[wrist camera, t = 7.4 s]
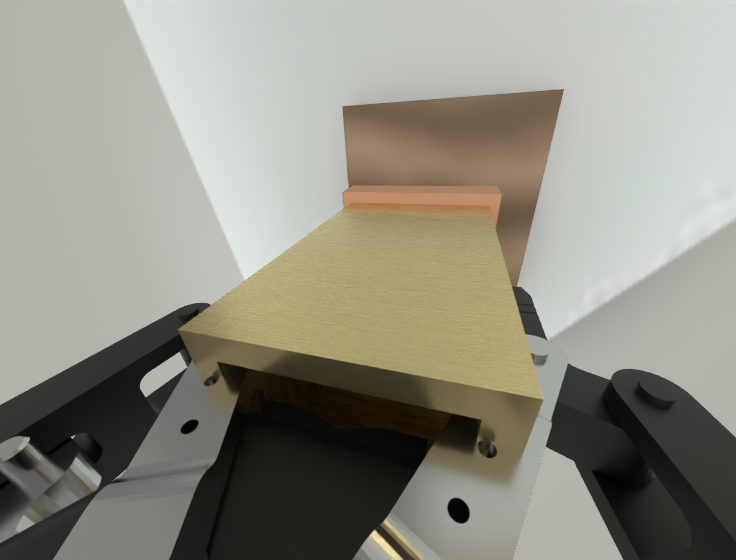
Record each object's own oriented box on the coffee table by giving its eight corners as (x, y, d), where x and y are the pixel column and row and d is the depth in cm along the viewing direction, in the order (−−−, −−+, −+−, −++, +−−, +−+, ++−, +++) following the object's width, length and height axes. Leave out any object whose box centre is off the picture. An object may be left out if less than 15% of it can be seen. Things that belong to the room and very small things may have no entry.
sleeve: (352, 202, 12) (177, 329, 5) (488, 205, 11) (544, 399, 3) (359, 307, 15) (255, 493, 8) (470, 322, 13) (477, 574, 6)
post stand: (348, 107, 21) (208, 91, 10) (558, 90, 17) (744, 31, 6) (359, 270, 28) (285, 377, 16) (513, 285, 24) (557, 437, 13)
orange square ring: (353, 185, 13) (342, 192, 12) (497, 186, 12) (501, 193, 10) (361, 297, 17) (353, 311, 15) (476, 311, 15) (477, 329, 14)
